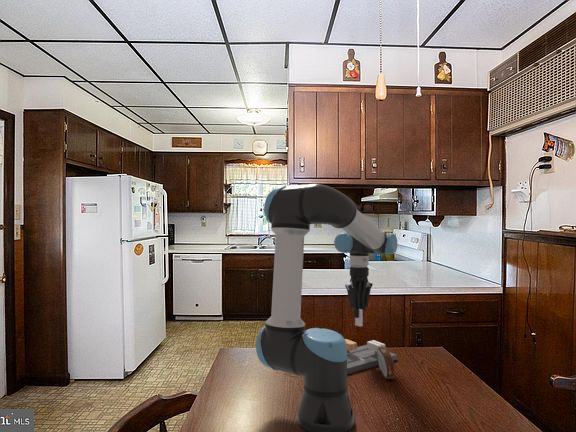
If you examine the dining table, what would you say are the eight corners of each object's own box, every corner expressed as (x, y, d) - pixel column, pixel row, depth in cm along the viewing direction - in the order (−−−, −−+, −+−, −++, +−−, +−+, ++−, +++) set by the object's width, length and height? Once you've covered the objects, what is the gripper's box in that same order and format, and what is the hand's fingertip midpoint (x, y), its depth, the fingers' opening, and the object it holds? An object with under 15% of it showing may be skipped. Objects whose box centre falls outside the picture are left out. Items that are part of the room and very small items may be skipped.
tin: (395, 383, 125) (395, 357, 125) (385, 383, 125) (385, 357, 125) (385, 366, 140) (384, 343, 140) (376, 366, 140) (376, 343, 140)
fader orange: (350, 356, 144) (350, 344, 144) (339, 351, 149) (339, 340, 149) (357, 354, 146) (357, 342, 146) (346, 349, 151) (346, 338, 151)
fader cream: (378, 357, 142) (378, 345, 142) (367, 352, 147) (366, 341, 148) (385, 355, 144) (385, 344, 144) (373, 351, 149) (373, 339, 149)
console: (336, 377, 130) (336, 369, 130) (311, 363, 143) (311, 356, 143) (396, 359, 146) (396, 353, 146) (368, 349, 159) (368, 342, 159)
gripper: (353, 267, 145) (353, 329, 144) (377, 266, 152) (377, 325, 151) (340, 266, 151) (340, 325, 150) (364, 264, 158) (364, 321, 157)
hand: (358, 325), depth 150 cm, fingers closed
